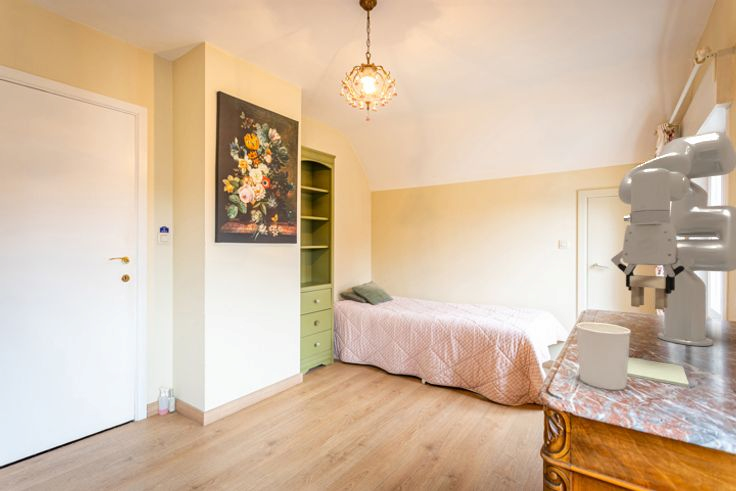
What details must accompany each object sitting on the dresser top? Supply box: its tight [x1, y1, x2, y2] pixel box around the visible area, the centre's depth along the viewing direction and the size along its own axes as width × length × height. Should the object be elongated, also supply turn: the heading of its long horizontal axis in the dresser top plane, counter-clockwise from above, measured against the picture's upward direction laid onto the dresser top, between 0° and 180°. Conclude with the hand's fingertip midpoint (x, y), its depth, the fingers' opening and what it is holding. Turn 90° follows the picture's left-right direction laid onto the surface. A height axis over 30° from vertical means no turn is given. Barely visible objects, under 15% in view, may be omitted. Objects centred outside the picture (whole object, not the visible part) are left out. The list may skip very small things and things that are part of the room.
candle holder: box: [575, 321, 632, 391], centre depth 74 cm, size 10×10×12 cm
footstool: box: [630, 274, 668, 311], centre depth 84 cm, size 6×6×8 cm
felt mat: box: [627, 357, 690, 388], centre depth 81 cm, size 14×12×1 cm
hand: (649, 291), depth 84 cm, fingers closed on footstool, 6 cm apart
